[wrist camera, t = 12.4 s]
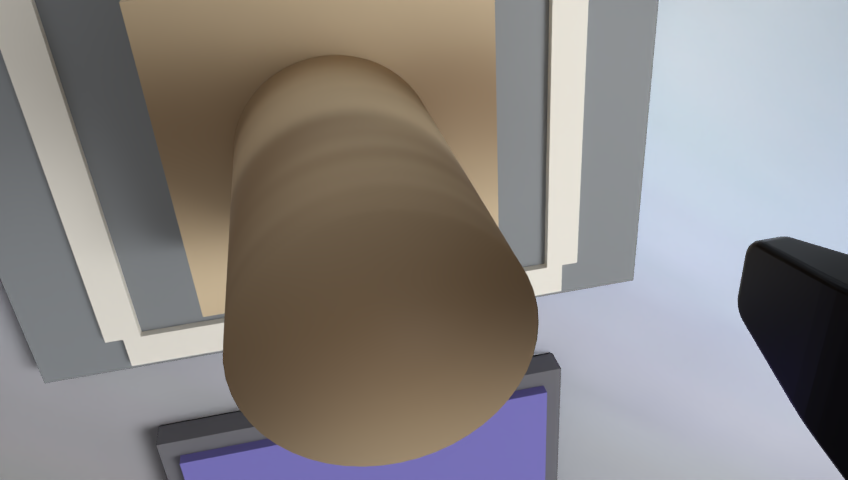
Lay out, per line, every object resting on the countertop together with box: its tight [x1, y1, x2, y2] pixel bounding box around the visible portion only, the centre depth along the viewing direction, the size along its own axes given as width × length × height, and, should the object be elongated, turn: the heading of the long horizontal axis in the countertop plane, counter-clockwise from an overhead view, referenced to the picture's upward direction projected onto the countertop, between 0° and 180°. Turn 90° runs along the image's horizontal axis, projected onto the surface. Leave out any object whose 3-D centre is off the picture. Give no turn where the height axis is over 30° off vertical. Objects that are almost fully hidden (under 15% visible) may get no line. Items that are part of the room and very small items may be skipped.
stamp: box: [119, 0, 538, 467], centre depth 12 cm, size 6×6×9 cm
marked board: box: [0, 0, 659, 383], centre depth 16 cm, size 12×15×1 cm
